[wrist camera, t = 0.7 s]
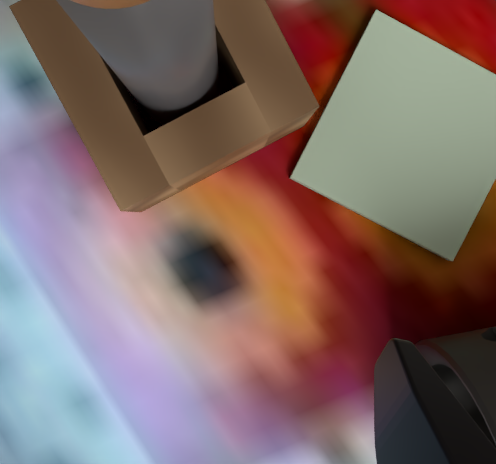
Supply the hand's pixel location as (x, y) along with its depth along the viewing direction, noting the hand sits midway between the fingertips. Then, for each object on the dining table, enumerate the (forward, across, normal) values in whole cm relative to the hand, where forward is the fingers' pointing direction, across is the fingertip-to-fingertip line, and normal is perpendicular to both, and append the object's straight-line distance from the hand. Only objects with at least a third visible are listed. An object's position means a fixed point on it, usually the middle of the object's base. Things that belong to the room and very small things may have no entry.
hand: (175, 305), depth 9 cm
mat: (+15, -9, +1) cm, 17 cm away
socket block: (+15, +3, +1) cm, 15 cm away
